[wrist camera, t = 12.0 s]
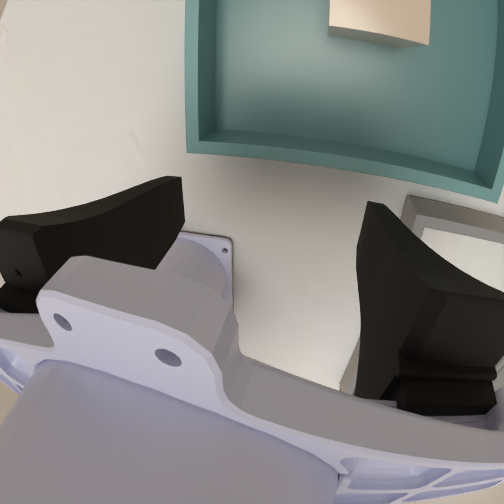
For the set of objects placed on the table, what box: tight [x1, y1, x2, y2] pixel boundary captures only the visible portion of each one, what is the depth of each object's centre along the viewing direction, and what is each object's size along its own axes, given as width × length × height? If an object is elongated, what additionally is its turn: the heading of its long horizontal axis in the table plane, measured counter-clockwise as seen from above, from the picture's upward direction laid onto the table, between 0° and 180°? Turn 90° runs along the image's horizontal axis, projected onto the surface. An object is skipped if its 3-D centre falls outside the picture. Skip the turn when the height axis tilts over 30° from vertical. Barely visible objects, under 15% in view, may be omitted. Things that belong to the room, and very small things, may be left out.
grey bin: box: [339, 195, 504, 396], centre depth 25 cm, size 24×17×3 cm
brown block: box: [328, 0, 431, 48], centre depth 11 cm, size 4×4×6 cm
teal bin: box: [185, 0, 504, 203], centre depth 13 cm, size 20×20×4 cm
